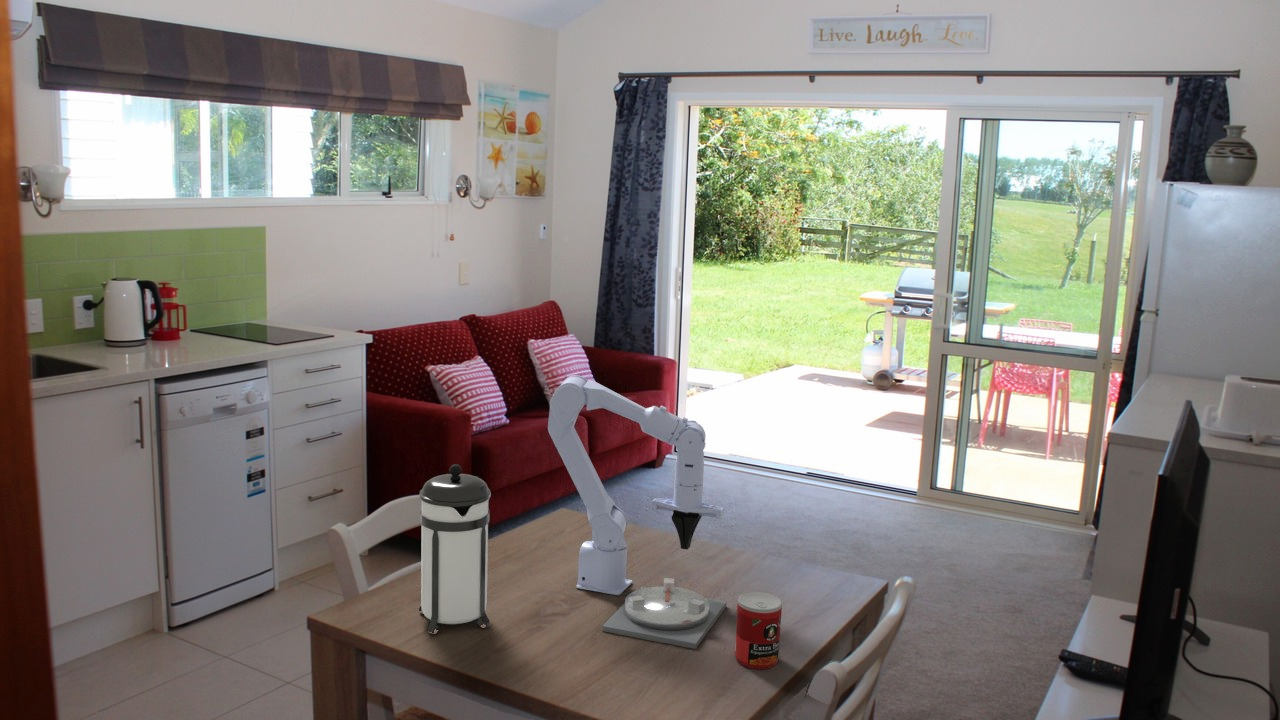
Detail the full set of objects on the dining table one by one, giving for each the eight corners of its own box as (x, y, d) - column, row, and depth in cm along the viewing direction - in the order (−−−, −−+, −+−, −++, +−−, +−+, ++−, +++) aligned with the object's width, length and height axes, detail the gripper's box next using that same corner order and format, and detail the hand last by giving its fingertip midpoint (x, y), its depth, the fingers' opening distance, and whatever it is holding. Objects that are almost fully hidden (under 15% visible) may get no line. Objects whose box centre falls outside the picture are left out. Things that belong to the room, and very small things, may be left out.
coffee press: (513, 613, 196) (516, 460, 191) (461, 644, 182) (462, 480, 177) (441, 594, 204) (442, 446, 199) (385, 622, 190) (385, 464, 185)
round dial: (663, 637, 185) (664, 617, 185) (607, 608, 197) (608, 589, 197) (725, 616, 196) (727, 597, 195) (669, 589, 208) (670, 571, 207)
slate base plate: (602, 631, 190) (602, 624, 190) (640, 591, 209) (640, 585, 209) (695, 648, 184) (695, 642, 184) (726, 606, 203) (726, 600, 203)
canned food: (750, 673, 176) (754, 612, 174) (725, 654, 182) (728, 595, 181) (787, 665, 179) (791, 605, 177) (761, 646, 186) (765, 588, 184)
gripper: (728, 482, 208) (725, 546, 210) (660, 473, 212) (658, 536, 215) (719, 491, 201) (715, 558, 203) (649, 481, 206) (646, 546, 208)
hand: (685, 547), depth 208 cm, fingers closed
